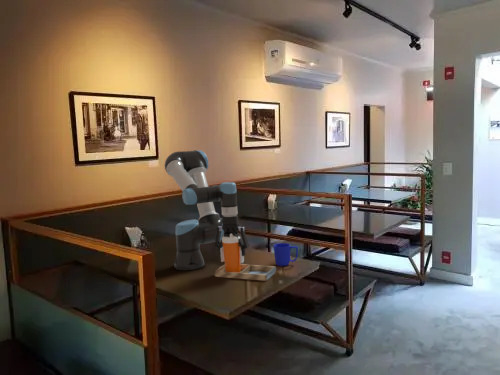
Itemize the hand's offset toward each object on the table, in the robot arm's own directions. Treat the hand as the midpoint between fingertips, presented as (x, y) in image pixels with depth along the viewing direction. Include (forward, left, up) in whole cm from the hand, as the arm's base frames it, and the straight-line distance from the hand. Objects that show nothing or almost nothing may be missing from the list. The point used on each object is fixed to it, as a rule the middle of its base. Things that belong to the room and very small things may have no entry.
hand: (232, 261), depth 197 cm
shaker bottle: (0, 0, -6) cm, 6 cm away
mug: (+21, +19, -6) cm, 28 cm away
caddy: (+6, 0, -6) cm, 8 cm away
